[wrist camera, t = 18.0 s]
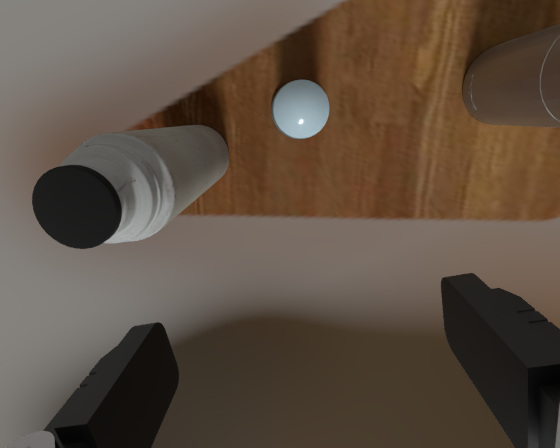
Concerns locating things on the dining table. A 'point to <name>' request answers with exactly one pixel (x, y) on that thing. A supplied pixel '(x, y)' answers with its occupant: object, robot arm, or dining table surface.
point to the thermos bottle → (128, 184)
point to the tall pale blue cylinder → (301, 108)
